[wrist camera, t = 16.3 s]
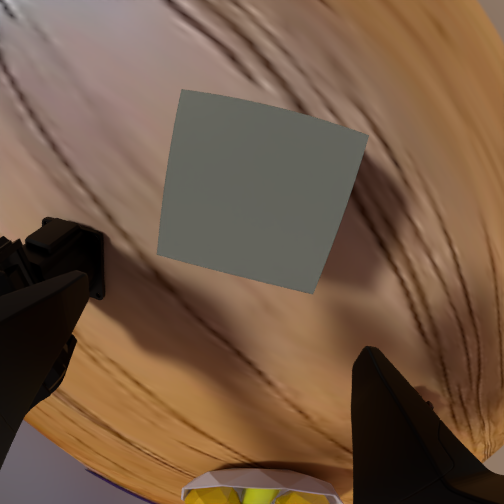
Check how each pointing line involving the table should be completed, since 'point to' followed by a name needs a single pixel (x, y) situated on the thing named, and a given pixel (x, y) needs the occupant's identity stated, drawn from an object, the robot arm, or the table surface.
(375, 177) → the table surface
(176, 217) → the grey angular block
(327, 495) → the fruit bowl
